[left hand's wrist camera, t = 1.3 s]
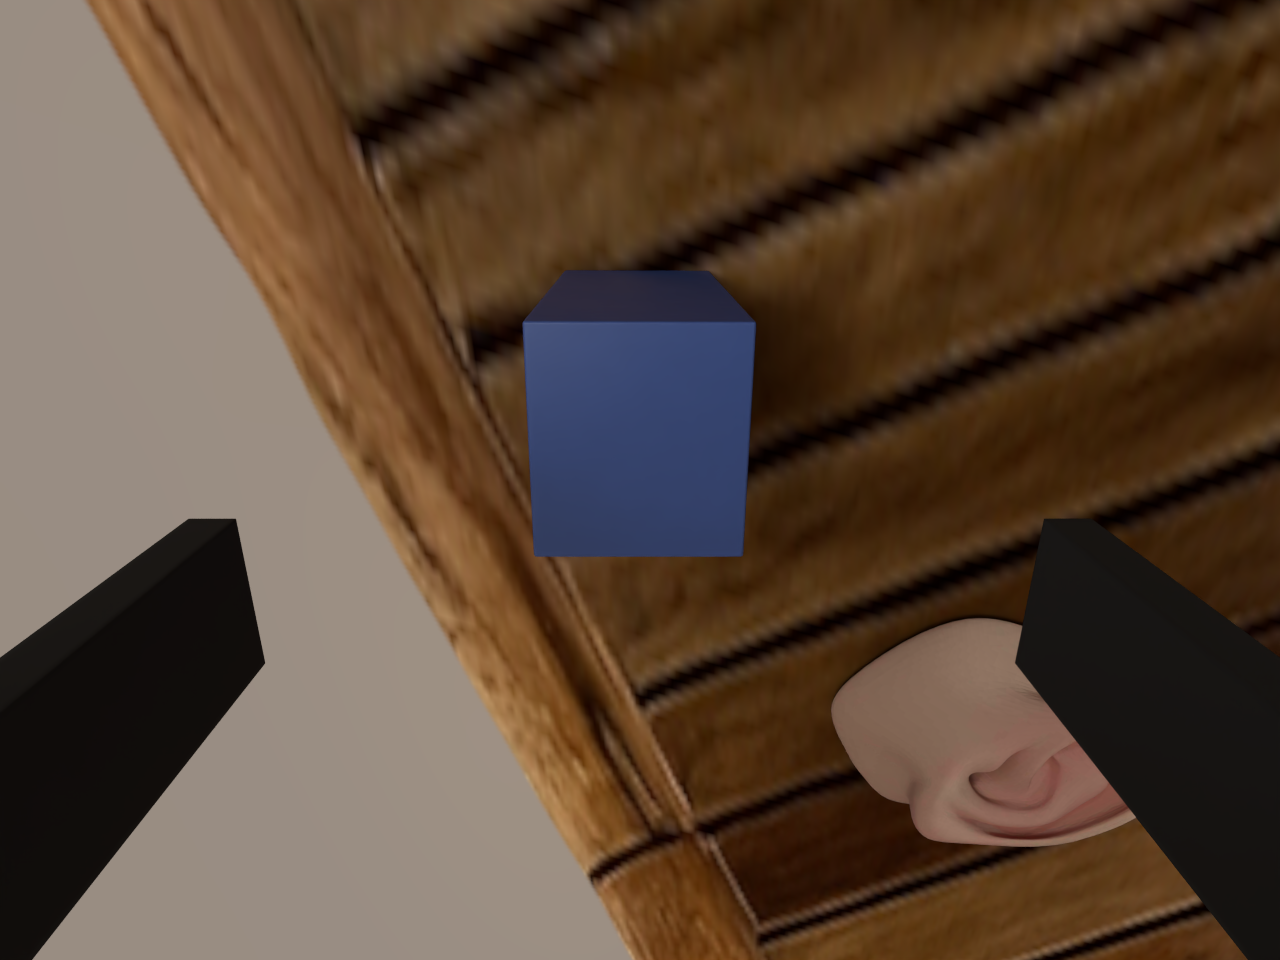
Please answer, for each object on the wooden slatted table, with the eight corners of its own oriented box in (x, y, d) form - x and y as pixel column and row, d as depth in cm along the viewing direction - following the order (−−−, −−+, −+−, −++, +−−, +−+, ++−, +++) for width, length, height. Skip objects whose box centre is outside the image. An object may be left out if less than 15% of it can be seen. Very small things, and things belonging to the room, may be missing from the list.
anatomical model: (809, 800, 33) (1001, 606, 30) (791, 737, 37) (960, 560, 33) (1029, 930, 36) (1227, 766, 32) (991, 859, 39) (1165, 707, 36)
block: (569, 425, 31) (534, 557, 20) (564, 270, 29) (522, 321, 18) (703, 425, 31) (743, 557, 20) (709, 270, 29) (757, 322, 18)
